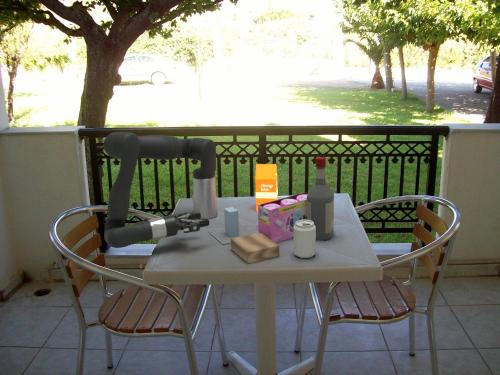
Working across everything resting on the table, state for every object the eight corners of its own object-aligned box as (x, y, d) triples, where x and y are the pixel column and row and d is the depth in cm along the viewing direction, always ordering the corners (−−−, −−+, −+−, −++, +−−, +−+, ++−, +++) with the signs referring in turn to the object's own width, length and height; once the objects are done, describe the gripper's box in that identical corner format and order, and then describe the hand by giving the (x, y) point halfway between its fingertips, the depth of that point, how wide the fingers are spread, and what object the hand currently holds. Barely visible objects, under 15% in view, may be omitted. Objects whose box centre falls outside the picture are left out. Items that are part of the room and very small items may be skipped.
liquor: (334, 232, 198) (335, 155, 189) (330, 241, 189) (331, 161, 181) (310, 230, 200) (310, 154, 192) (305, 239, 192) (305, 160, 183)
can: (301, 261, 174) (301, 227, 171) (289, 253, 181) (289, 220, 177) (319, 256, 177) (320, 223, 174) (307, 248, 184) (307, 216, 180)
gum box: (306, 223, 208) (305, 191, 204) (319, 229, 201) (319, 196, 197) (258, 238, 194) (256, 204, 190) (271, 245, 188) (270, 209, 184)
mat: (222, 244, 190) (222, 244, 189) (208, 232, 202) (208, 232, 202) (256, 237, 195) (256, 236, 195) (241, 225, 207) (241, 225, 207)
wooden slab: (248, 263, 174) (247, 252, 172) (231, 249, 186) (230, 238, 184) (279, 256, 179) (279, 245, 177) (260, 242, 191) (260, 232, 189)
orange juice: (258, 205, 231) (257, 161, 225) (278, 205, 230) (277, 162, 224) (256, 211, 224) (254, 166, 218) (276, 211, 222) (275, 166, 216)
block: (230, 237, 196) (229, 212, 193) (225, 233, 200) (224, 208, 197) (239, 235, 197) (237, 210, 194) (233, 231, 201) (232, 206, 198)
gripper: (167, 223, 178) (211, 214, 184) (155, 211, 190) (197, 203, 197) (169, 243, 180) (212, 234, 187) (157, 230, 192) (198, 222, 199)
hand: (204, 218), depth 192 cm, fingers open, 8 cm apart
